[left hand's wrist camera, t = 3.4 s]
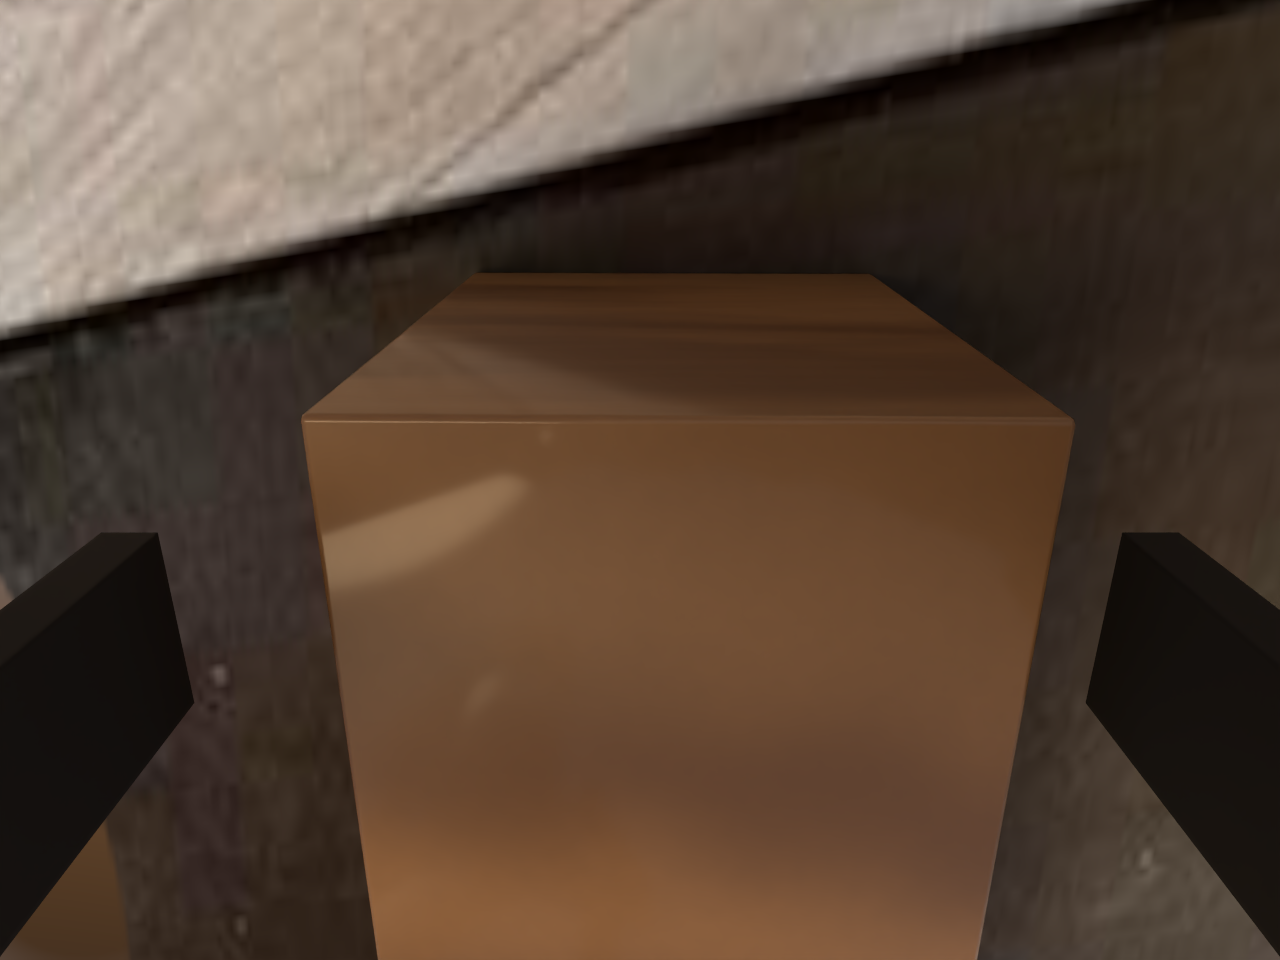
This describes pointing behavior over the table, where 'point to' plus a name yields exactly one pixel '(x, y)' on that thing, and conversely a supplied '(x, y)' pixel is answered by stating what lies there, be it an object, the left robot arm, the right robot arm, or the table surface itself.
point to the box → (682, 617)
